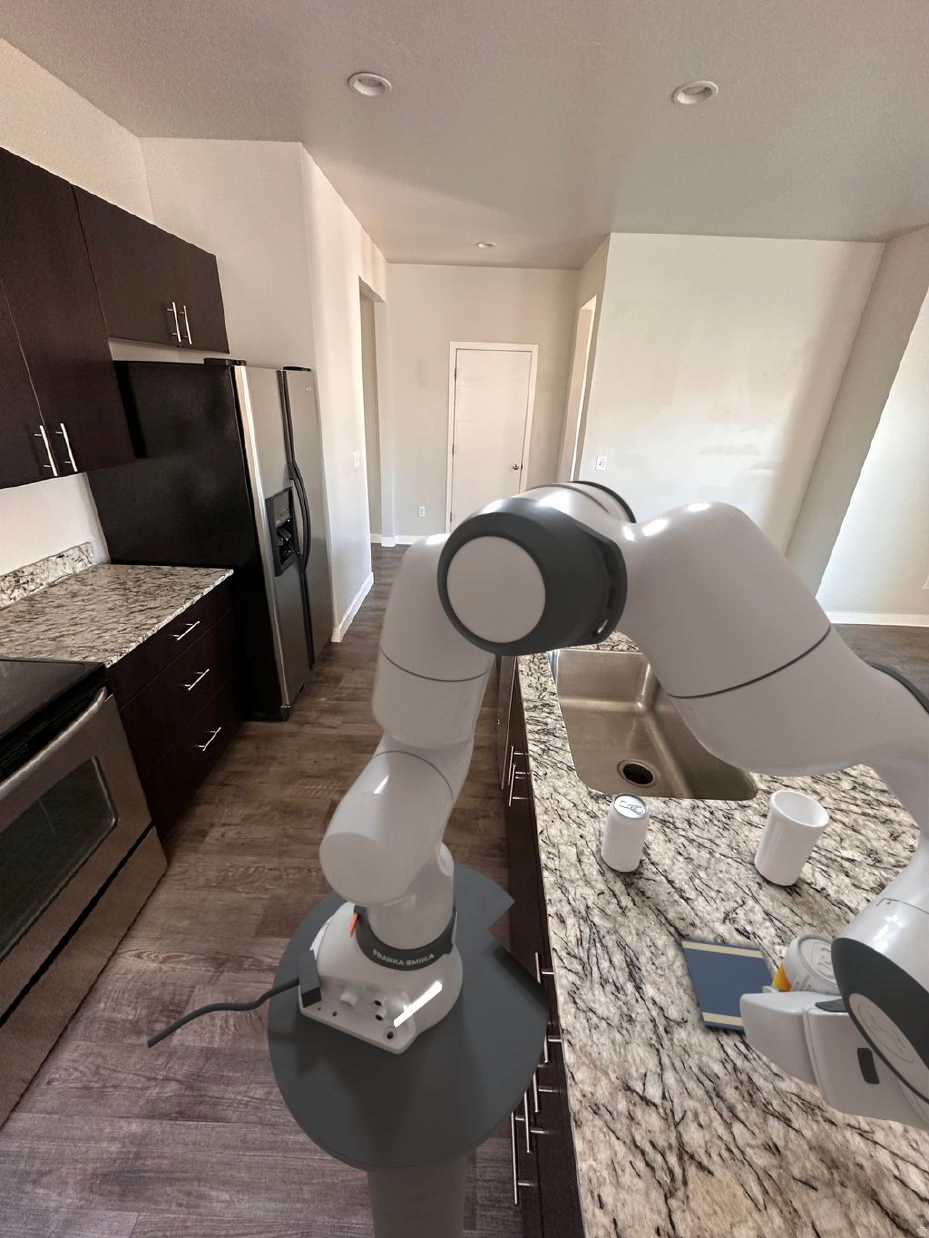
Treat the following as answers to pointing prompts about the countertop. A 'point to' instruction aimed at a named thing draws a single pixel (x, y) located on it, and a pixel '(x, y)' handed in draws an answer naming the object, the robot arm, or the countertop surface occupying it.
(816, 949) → the beer can
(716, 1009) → the blue striped coaster
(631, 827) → the can
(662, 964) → the countertop surface
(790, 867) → the cup
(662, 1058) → the countertop surface
